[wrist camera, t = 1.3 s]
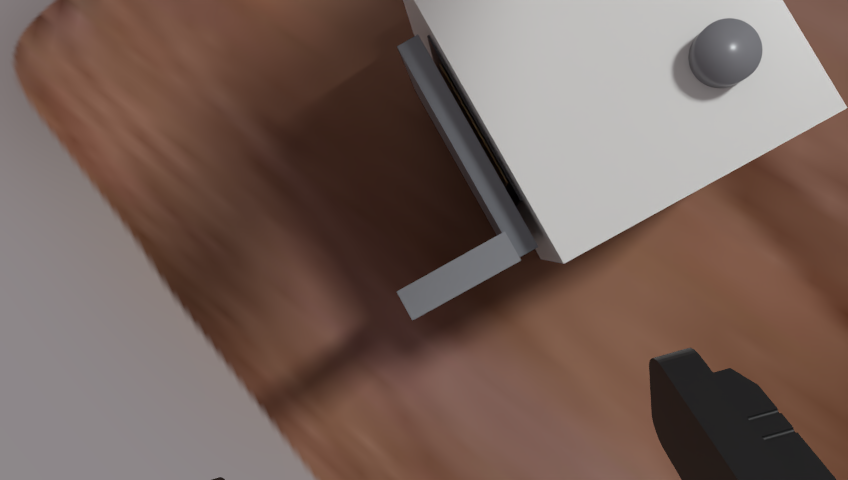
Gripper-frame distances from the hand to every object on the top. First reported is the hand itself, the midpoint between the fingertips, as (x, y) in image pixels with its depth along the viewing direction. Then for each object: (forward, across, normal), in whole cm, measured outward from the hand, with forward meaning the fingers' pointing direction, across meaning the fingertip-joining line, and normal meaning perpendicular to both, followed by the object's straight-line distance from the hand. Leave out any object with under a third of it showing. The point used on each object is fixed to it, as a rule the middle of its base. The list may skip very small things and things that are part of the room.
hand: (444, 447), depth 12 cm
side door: (+23, -2, +7) cm, 24 cm away
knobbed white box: (+25, -11, +4) cm, 27 cm away
